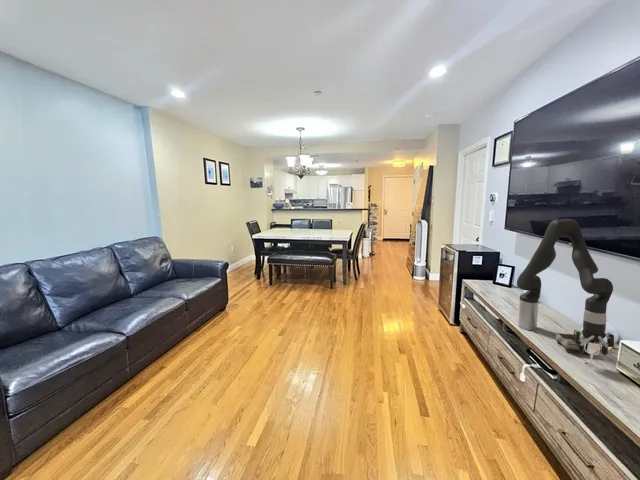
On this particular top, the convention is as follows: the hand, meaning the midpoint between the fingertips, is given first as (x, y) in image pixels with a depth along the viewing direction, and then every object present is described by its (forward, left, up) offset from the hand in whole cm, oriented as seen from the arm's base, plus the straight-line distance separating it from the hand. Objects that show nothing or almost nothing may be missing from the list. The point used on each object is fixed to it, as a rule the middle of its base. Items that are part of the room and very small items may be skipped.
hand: (592, 353), depth 131 cm
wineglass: (0, 0, -6) cm, 6 cm away
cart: (-16, 0, -6) cm, 17 cm away
